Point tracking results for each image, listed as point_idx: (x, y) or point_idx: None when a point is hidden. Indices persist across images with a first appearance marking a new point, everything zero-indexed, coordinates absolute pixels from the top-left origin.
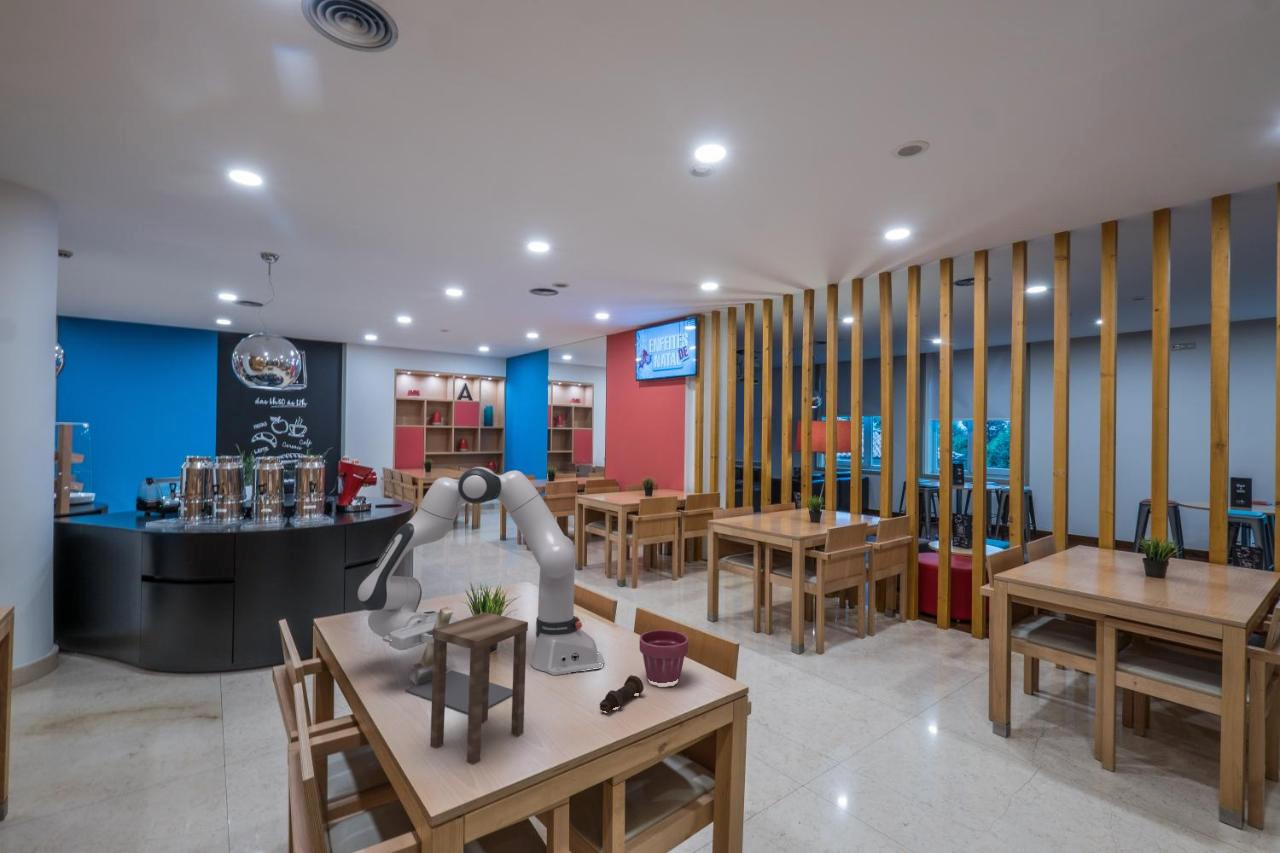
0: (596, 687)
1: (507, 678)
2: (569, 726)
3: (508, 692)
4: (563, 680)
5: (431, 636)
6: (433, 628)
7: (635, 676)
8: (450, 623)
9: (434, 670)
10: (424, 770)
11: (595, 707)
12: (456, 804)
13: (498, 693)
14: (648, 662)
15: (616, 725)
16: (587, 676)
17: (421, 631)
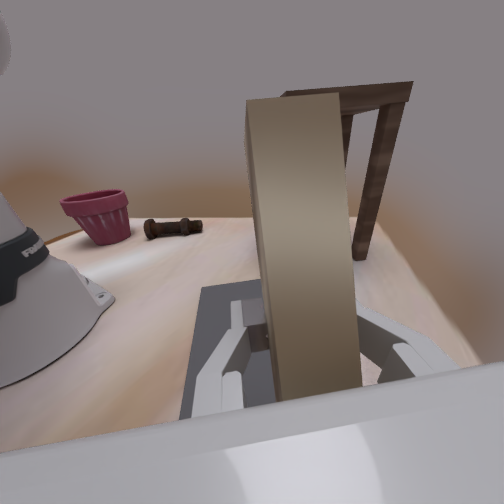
0: (145, 255)
1: (148, 344)
2: (235, 232)
3: (213, 291)
4: (132, 282)
5: (366, 309)
6: (353, 306)
7: (146, 220)
8: (80, 438)
9: (387, 162)
10: (376, 240)
11: (192, 238)
12: (356, 217)
13: (224, 297)
14: (121, 215)
15: (213, 223)
16: (110, 274)
17: (489, 375)
